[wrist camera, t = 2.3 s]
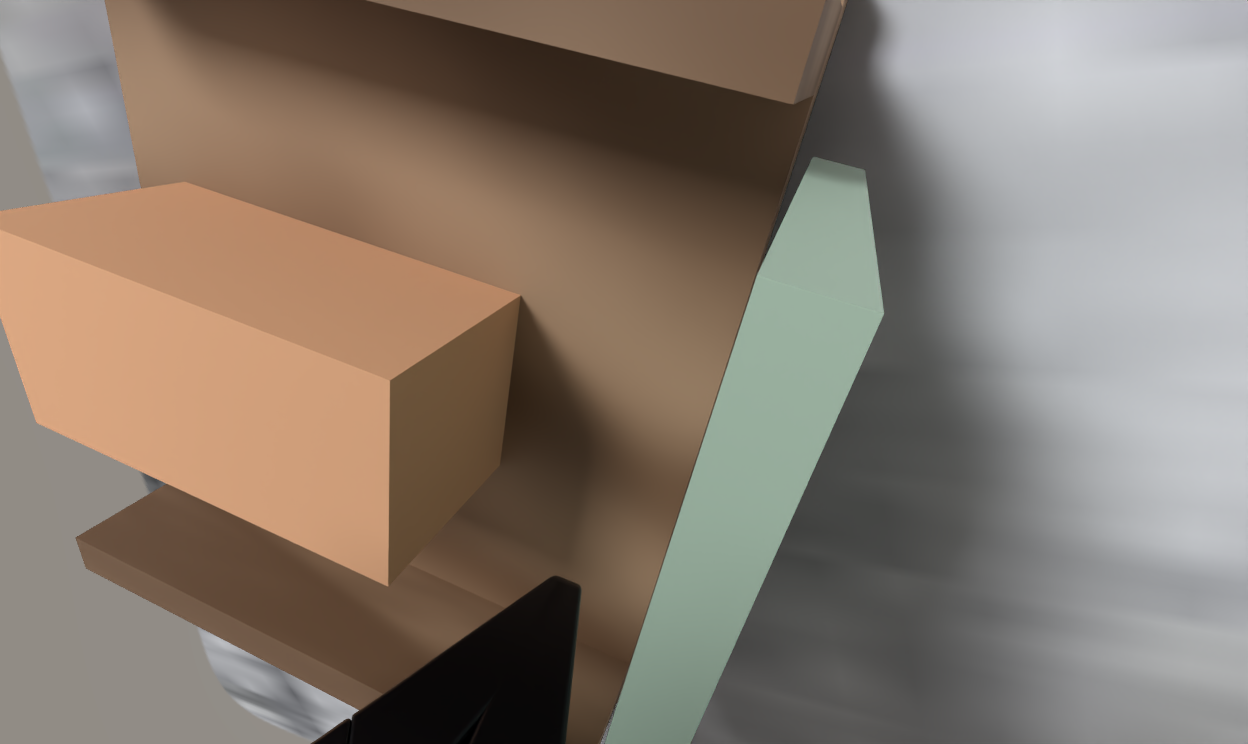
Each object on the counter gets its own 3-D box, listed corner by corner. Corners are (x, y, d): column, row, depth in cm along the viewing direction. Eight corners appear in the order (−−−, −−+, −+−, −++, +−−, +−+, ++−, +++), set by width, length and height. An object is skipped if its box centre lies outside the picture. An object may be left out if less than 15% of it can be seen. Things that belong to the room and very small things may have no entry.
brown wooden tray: (628, 673, 18) (567, 832, 14) (229, 491, 21) (91, 582, 17) (857, -31, 9) (857, -103, 6) (121, -176, 12) (-206, -285, 9)
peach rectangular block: (499, 465, 15) (388, 586, 11) (211, 349, 17) (36, 422, 13) (520, 295, 13) (389, 380, 9) (185, 181, 15) (-35, 216, 11)
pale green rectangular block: (669, 679, 16) (568, 1014, 10) (640, 665, 16) (524, 989, 10) (864, 169, 9) (885, 312, 4) (813, 156, 9) (756, 275, 4)
